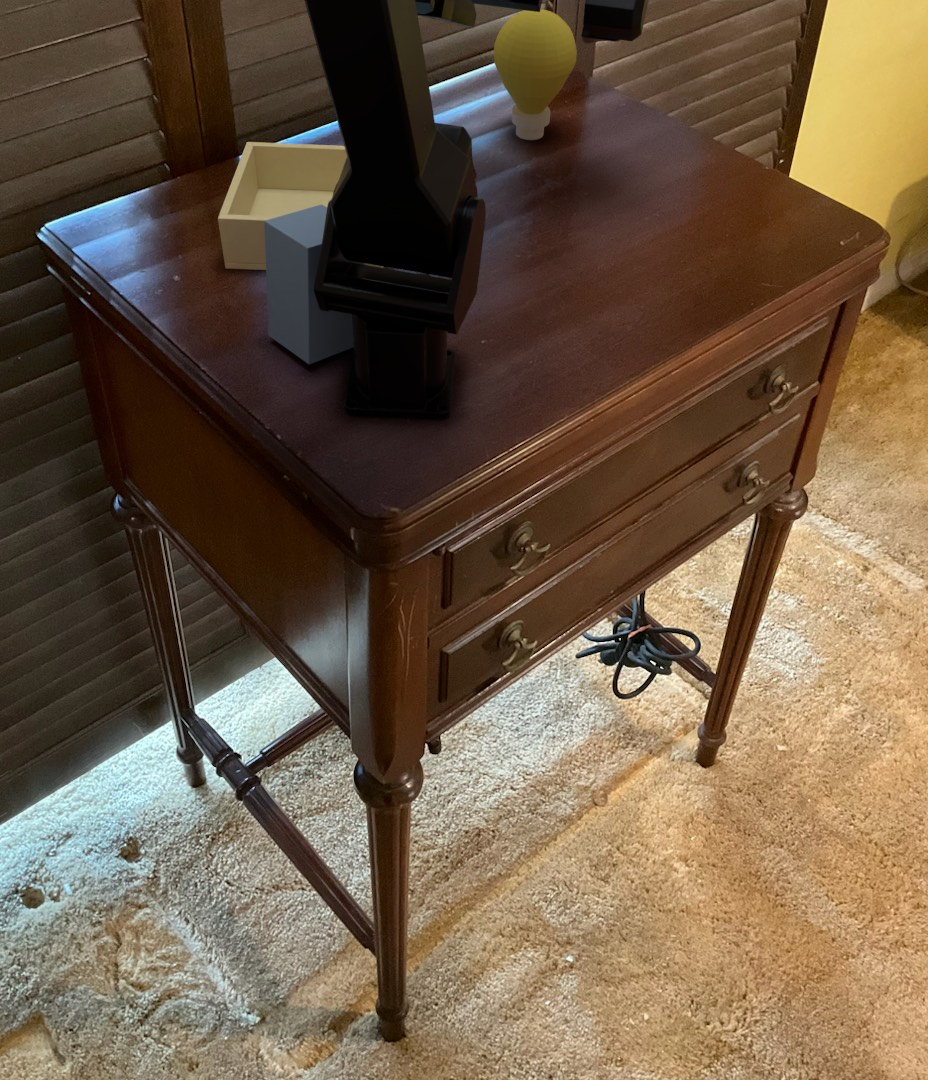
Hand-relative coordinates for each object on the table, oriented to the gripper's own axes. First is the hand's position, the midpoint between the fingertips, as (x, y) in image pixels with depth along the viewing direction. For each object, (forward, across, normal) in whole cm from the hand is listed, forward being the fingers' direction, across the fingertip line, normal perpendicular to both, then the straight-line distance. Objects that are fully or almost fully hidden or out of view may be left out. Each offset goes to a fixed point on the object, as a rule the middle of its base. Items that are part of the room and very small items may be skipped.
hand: (530, 28), depth 86 cm
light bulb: (+9, 0, +5) cm, 10 cm away
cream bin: (-6, +12, +19) cm, 23 cm away
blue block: (-15, +7, +28) cm, 33 cm away
